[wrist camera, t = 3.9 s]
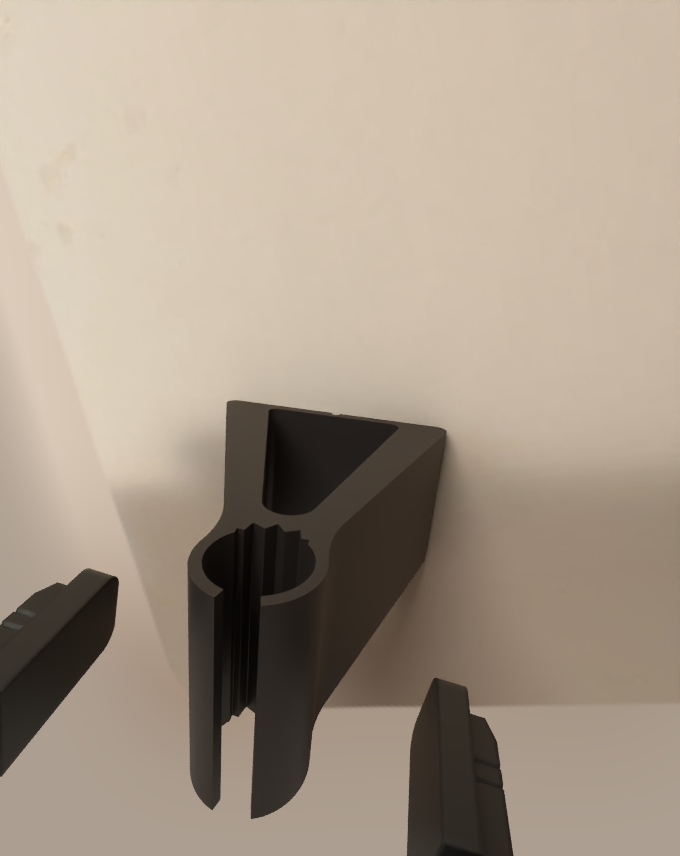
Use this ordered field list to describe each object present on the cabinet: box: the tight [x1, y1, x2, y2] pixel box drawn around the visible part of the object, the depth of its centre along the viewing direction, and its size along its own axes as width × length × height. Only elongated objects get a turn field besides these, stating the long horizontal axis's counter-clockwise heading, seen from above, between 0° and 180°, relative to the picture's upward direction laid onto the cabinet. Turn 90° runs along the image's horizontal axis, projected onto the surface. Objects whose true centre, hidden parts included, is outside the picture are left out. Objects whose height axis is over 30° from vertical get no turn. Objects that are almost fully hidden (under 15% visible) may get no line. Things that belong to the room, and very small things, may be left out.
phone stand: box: [188, 400, 447, 819], centre depth 16 cm, size 9×6×12 cm, turn 84°
